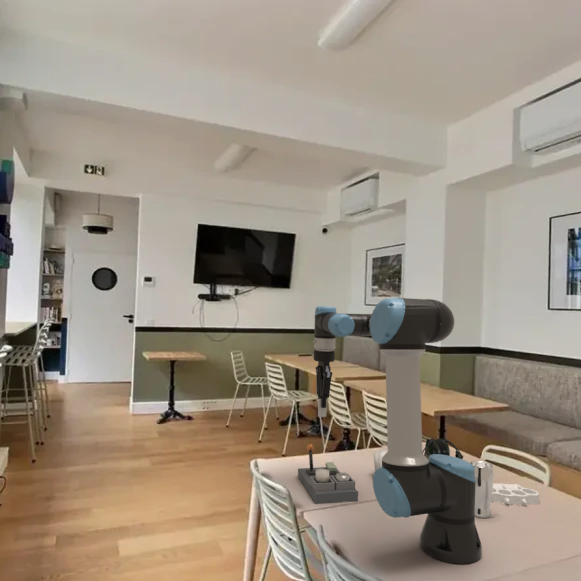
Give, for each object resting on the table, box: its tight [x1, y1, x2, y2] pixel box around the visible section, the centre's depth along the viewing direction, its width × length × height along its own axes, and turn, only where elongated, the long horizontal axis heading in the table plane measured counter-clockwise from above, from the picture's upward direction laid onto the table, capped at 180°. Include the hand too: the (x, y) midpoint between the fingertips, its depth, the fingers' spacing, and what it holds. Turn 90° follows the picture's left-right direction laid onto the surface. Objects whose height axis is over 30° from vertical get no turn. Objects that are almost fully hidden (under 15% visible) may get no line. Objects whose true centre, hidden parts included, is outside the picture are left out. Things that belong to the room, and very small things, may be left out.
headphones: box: [422, 437, 464, 460], centre depth 193 cm, size 13×13×20 cm
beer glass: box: [469, 460, 494, 519], centre depth 148 cm, size 7×7×15 cm
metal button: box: [336, 472, 351, 482], centre depth 159 cm, size 4×4×3 cm
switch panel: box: [297, 466, 359, 505], centre depth 165 cm, size 24×14×6 cm, turn 13°
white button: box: [316, 469, 329, 483], centre depth 158 cm, size 4×4×3 cm
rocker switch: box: [324, 461, 338, 471], centre depth 172 cm, size 4×3×1 cm, turn 13°
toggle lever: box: [306, 443, 315, 471], centre depth 172 cm, size 3×3×9 cm
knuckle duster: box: [490, 482, 540, 506], centre depth 161 cm, size 3×18×15 cm
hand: (322, 416), depth 172 cm, fingers closed
